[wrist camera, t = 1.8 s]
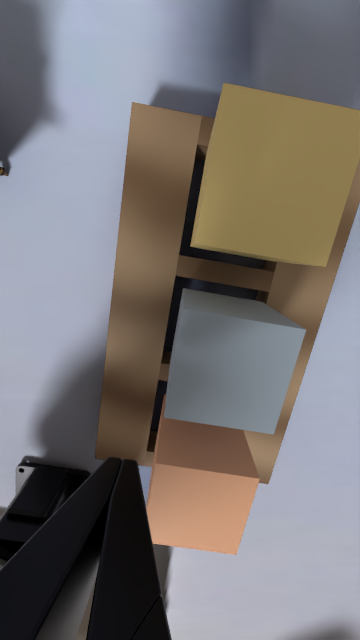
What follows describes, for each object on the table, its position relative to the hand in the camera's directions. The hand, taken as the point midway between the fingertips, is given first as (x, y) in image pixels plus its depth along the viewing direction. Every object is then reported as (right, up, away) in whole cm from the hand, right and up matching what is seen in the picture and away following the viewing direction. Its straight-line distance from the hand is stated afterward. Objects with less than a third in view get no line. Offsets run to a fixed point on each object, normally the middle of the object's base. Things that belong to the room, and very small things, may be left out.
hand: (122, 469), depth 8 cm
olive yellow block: (+5, +11, +7) cm, 14 cm away
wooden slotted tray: (+4, +4, +12) cm, 14 cm away
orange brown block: (+3, -4, +11) cm, 12 cm away
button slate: (+4, +4, +9) cm, 11 cm away
